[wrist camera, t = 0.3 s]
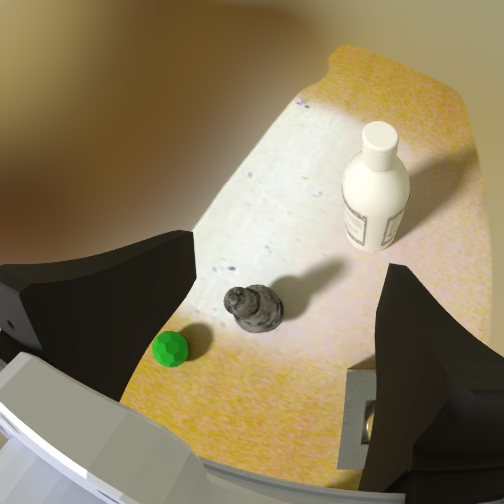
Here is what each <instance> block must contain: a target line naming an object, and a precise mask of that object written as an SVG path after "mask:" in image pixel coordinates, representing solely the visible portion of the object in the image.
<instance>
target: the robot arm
mask: <svg viewBox="0 0 504 504" xmlns="http://www.w3.org/2000/svg"><path fill="white" fill-rule="evenodd" d="M196 278H197V277H196V265H195V252H194V238H193V232H189V231H182V230H176V231H171V232H168V233H164V234H161V235H158V236H155V237H152V238H149V239H146V240H143V241H140V242H137V243H134V244H131V245H128V246H125V247H122V248H119V249H115V250H112V251H109V252H105V253H102V254H98V255H93V256H90V257H85V258H80V259H74V260H68V261H62V262H53V263H42V264H4V265H1V266H0V328H1V331H0V431H1V432H2V433H3V434H4V435H5V436H6V437H7V438H8V439H9V441H8V442H7V443H6V444H5V446H4V447H3V448H2V449H1V450H0V504H504V357H502V356H501V355H499V354H498V353H496V352H495V351H493V350H492V349H490V348H489V347H488V346H486V345H485V344H484V343H482V342H481V341H480V340H478V339H477V338H476V337H474V336H473V335H472V334H471V333H470V332H468V331H467V330H466V329H465V328H464V327H463V326H462V325H461V324H459V323H458V322H457V321H456V320H455V319H454V318H453V317H452V316H451V315H450V314H449V313H448V312H447V311H446V310H445V309H444V308H443V307H442V306H441V305H440V304H439V303H438V302H437V300H436V299H435V298H434V297H433V296H432V295H431V294H430V293H429V291H428V290H427V289H426V288H425V287H424V286H423V284H422V283H421V282H420V281H419V280H418V278H417V277H416V276H415V275H414V274H413V273H412V271H411V270H410V269H409V268H408V267H407V266H404V265H398V264H392V263H389V267H388V271H387V275H386V278H385V282H384V286H383V290H382V293H381V297H380V300H379V304H378V307H377V310H376V322H375V354H376V402H375V410H374V417H373V424H372V430H371V436H370V442H369V447H368V452H367V456H366V461H365V465H364V470H363V474H362V477H361V481H360V485H359V488H358V491H352V490H343V489H335V488H327V487H321V486H314V485H308V484H303V483H297V482H292V481H287V480H283V479H278V478H274V477H269V476H265V475H261V474H257V473H253V472H249V471H246V470H242V469H239V468H235V467H232V466H228V465H225V464H222V463H219V462H216V461H213V460H210V459H207V458H204V457H201V456H198V455H196V453H195V452H194V451H193V450H192V448H191V447H190V446H189V445H188V444H187V443H186V442H184V441H183V440H182V439H180V438H179V437H177V436H176V435H175V434H173V433H172V432H171V431H170V430H168V429H167V428H166V427H164V426H163V425H161V424H159V423H157V422H155V421H153V420H151V419H150V418H148V417H146V416H144V415H142V414H141V413H139V412H137V411H135V410H134V409H131V408H129V407H127V406H125V405H123V404H121V403H119V401H120V399H121V397H122V395H123V393H124V391H125V388H126V386H127V384H128V382H129V380H130V378H131V376H132V374H133V373H134V371H135V369H136V367H137V365H138V363H139V361H140V360H141V358H142V356H143V355H144V353H145V351H146V350H147V348H148V346H149V345H150V343H151V342H152V340H153V339H154V337H155V336H156V335H157V333H158V332H159V331H160V330H161V328H162V327H163V326H164V325H165V323H166V322H167V321H168V320H169V318H170V317H171V316H172V315H173V313H174V312H175V311H176V309H177V308H178V307H179V306H180V304H181V303H182V302H183V300H184V299H185V298H186V296H187V294H188V293H189V291H190V289H191V288H192V286H193V284H194V282H195V280H196Z"/></svg>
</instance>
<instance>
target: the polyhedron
mask: <svg viewBox="0 0 504 504" xmlns="http://www.w3.org/2000/svg"><path fill="white" fill-rule="evenodd" d="M152 349H153V354H154V357H155V359H156V360H157V361H158V362H159V363H160V364H162V365H163V366H167V367H177V366H179V365H181V364H182V363H183V362H184V361H185V360H186V358H187V356H188V354H189V351H188V345H187V341H186V340H185V338H184V337H183V336H182V335H180V334H179V333H178V332H173V331H165V332H163V333H161V334H160V335H158V336H157V337H156V338H155V340H154V342H153V344H152Z"/></svg>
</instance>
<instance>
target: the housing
mask: <svg viewBox="0 0 504 504" xmlns="http://www.w3.org/2000/svg"><path fill="white" fill-rule="evenodd" d="M375 402H376V369H347V381H346V394H345V405H344V416H343V425H342V434H341V442H340V450H339V458H338V465H337V469H349V470H364V465H365V461H366V456H367V452H368V447H369V442H370V440H369V436H368V431H367V426H366V421H365V417H366V413H367V411H368V409H369V408H370V406H371V405H372V404H373V403H375Z"/></svg>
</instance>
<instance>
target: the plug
mask: <svg viewBox="0 0 504 504" xmlns="http://www.w3.org/2000/svg"><path fill="white" fill-rule="evenodd" d="M374 410H375V403H373V404H372V405H371V406H370V408H369V409H368V411H367V413H366V417H365V421H366V426H367V431H368V436H369V440H370V436H371V430H372V424H373V417H374Z"/></svg>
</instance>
